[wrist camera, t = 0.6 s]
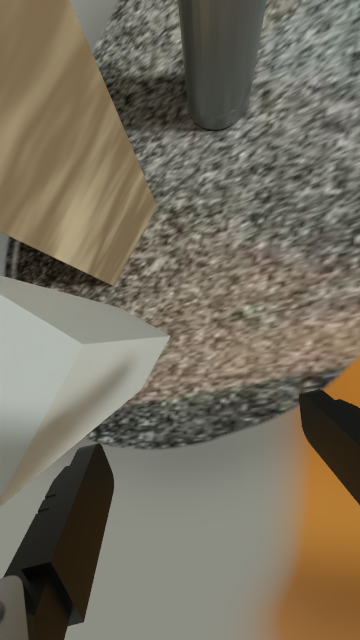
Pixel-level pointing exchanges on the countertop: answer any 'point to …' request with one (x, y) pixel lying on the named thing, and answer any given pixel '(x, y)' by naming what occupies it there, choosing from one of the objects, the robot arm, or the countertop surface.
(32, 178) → the oak stand
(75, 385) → the grey block
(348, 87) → the countertop surface
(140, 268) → the countertop surface
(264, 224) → the countertop surface
